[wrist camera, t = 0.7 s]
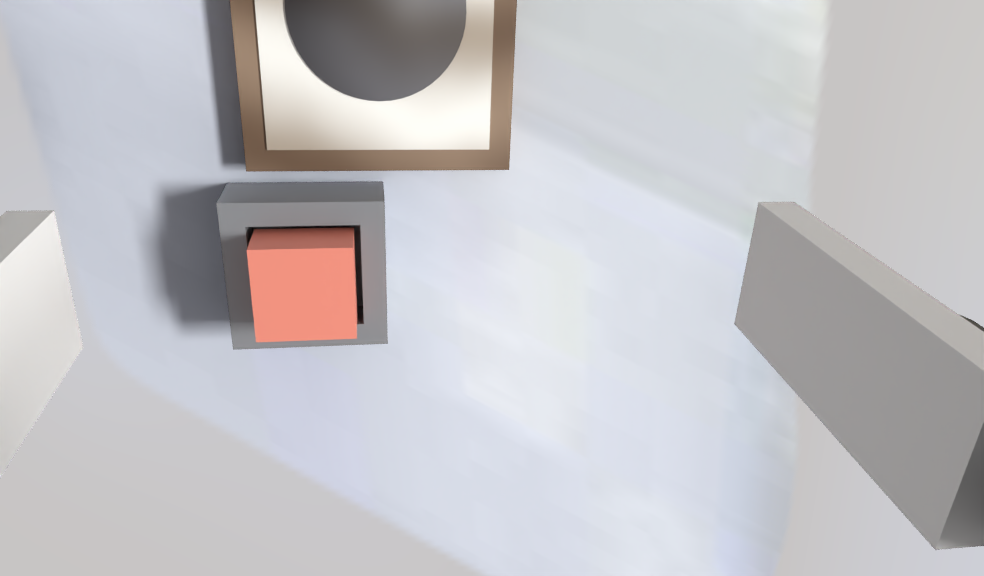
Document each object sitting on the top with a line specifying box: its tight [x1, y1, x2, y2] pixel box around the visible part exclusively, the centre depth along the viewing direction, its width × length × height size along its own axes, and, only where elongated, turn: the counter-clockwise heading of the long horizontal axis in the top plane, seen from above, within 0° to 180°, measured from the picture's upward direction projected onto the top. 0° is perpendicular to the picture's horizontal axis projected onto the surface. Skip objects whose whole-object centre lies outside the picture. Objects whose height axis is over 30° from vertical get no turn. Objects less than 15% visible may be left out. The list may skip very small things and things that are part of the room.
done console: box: [216, 182, 388, 350], centre depth 37 cm, size 7×7×3 cm
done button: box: [247, 228, 357, 342], centre depth 35 cm, size 4×4×2 cm
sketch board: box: [230, 0, 517, 171], centre depth 34 cm, size 14×12×1 cm
